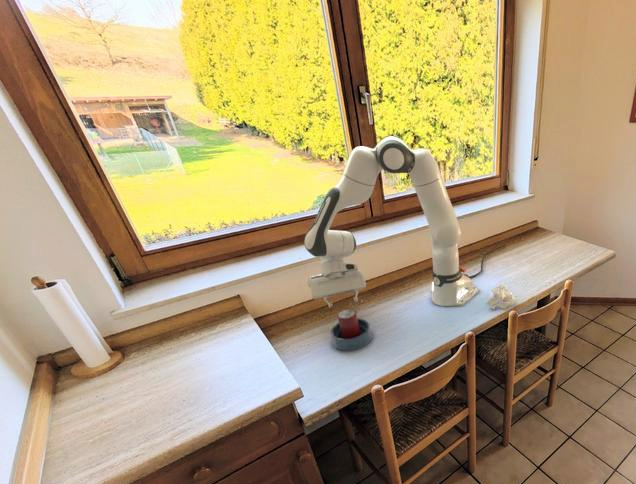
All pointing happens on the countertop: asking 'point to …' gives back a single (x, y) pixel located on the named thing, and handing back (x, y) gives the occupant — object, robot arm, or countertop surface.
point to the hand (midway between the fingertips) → (343, 304)
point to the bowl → (353, 342)
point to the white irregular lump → (501, 298)
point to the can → (349, 324)
